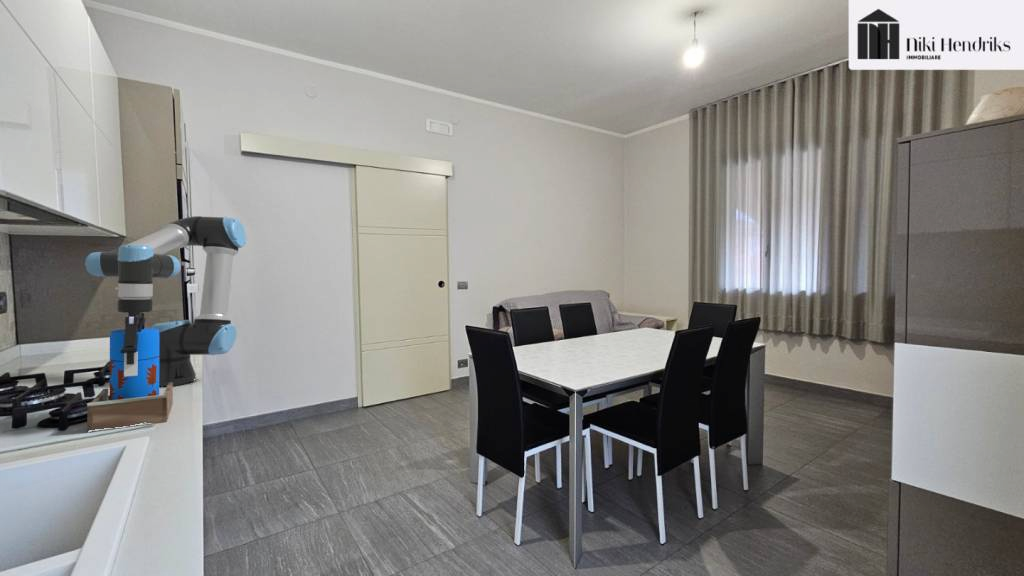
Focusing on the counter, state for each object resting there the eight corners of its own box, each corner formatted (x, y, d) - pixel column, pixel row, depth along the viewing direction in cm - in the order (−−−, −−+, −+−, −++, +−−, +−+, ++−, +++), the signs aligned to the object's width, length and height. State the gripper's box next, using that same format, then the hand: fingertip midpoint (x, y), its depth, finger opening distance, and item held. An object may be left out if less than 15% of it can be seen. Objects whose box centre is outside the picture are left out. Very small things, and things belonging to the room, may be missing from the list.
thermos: (154, 407, 130) (155, 327, 130) (163, 415, 124) (163, 330, 123) (106, 415, 122) (106, 330, 121) (112, 424, 115) (112, 334, 115)
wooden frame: (103, 412, 125) (103, 386, 125) (172, 404, 134) (172, 380, 134) (87, 432, 109) (87, 404, 109) (166, 422, 118) (166, 395, 118)
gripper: (125, 296, 130) (125, 364, 130) (108, 300, 109) (107, 381, 110) (157, 296, 134) (156, 362, 135) (146, 300, 114) (145, 378, 114)
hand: (134, 371), depth 122 cm, fingers open, 13 cm apart
